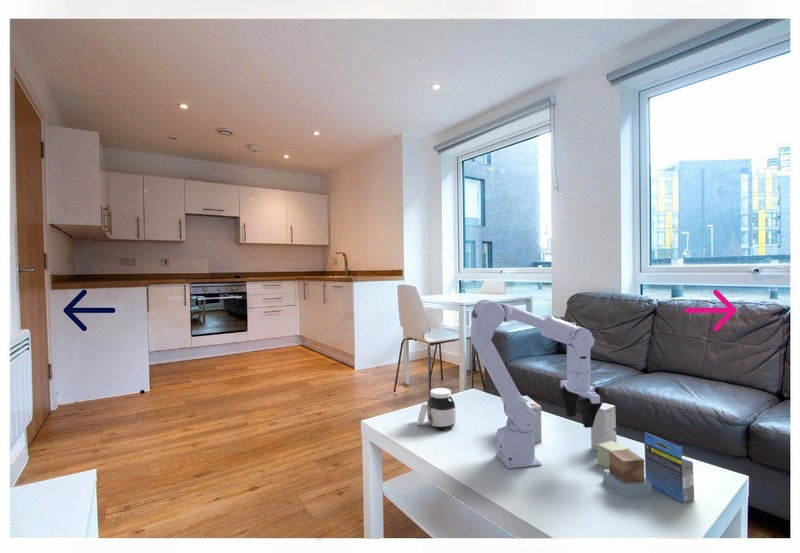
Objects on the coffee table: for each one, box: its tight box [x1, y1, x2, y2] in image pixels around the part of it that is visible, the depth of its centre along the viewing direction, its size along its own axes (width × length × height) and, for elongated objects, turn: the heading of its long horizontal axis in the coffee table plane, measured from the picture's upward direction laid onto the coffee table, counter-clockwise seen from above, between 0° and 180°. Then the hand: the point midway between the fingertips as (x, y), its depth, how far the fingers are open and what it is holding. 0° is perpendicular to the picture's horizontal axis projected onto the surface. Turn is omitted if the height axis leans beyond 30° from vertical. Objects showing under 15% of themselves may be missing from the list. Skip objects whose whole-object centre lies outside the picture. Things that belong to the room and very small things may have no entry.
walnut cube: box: [608, 448, 645, 483], centre depth 89 cm, size 5×5×5 cm
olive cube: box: [597, 441, 629, 469], centre depth 100 cm, size 5×5×5 cm
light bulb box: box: [521, 395, 543, 444], centre depth 119 cm, size 11×7×11 cm, turn 5°
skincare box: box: [590, 402, 617, 452], centre depth 109 cm, size 6×4×12 cm
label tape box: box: [643, 431, 695, 504], centre depth 88 cm, size 9×4×12 cm, turn 21°
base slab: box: [602, 468, 653, 498], centre depth 90 cm, size 7×7×3 cm
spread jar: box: [417, 387, 457, 431], centre depth 128 cm, size 12×11×12 cm
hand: (579, 421), depth 104 cm, fingers open, 7 cm apart
